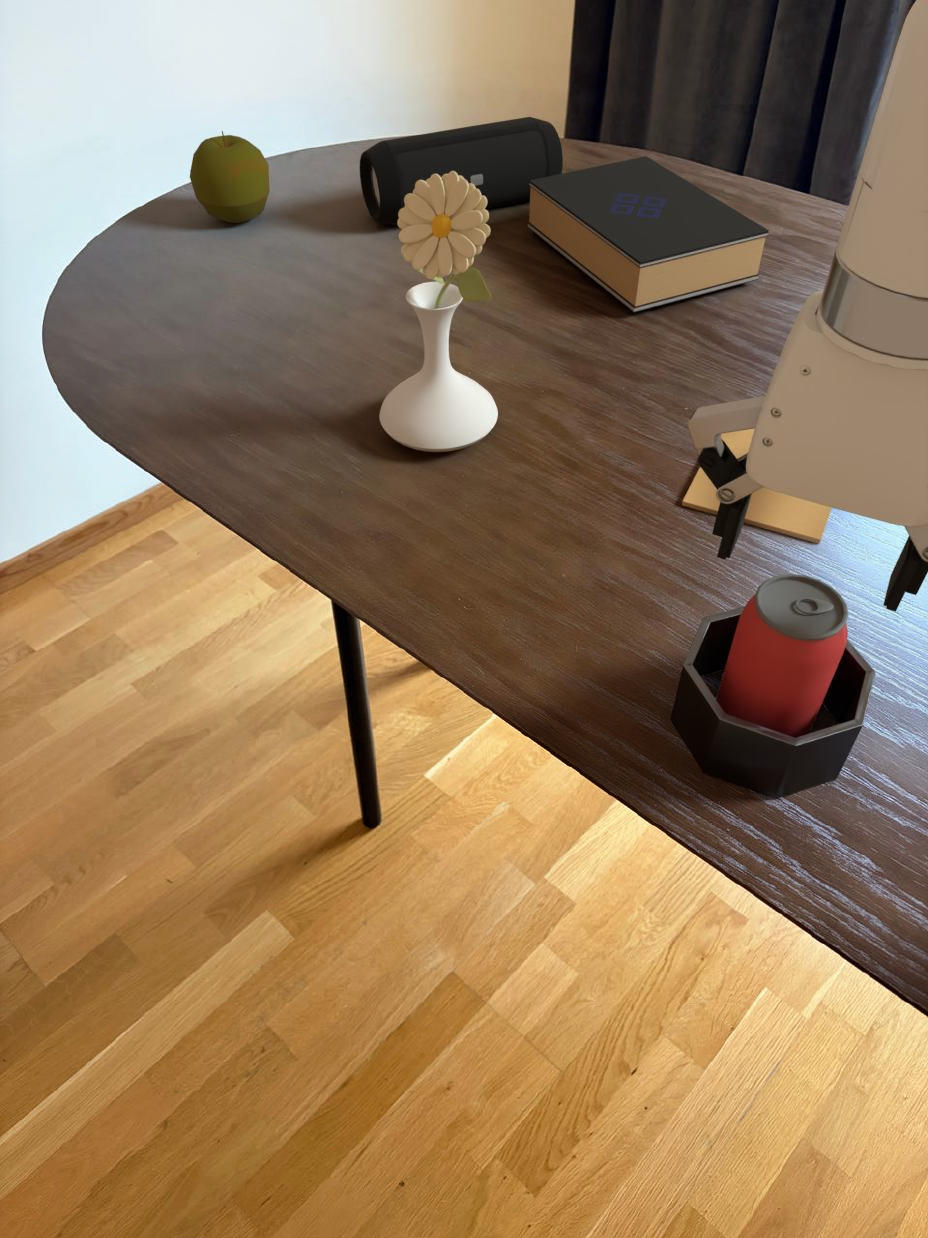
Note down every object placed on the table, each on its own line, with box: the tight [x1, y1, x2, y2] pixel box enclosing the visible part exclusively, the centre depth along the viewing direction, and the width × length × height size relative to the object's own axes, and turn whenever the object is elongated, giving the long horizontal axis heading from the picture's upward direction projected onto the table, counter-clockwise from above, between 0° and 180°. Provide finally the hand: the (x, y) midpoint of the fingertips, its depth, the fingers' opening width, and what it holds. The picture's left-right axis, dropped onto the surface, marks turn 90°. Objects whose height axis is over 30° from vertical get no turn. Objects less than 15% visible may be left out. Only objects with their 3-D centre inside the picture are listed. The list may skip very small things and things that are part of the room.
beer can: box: [715, 573, 849, 738], centre depth 62 cm, size 7×7×12 cm
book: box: [526, 155, 770, 313], centre depth 113 cm, size 17×25×7 cm
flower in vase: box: [378, 171, 499, 453], centre depth 82 cm, size 13×11×25 cm
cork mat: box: [681, 428, 832, 545], centre depth 85 cm, size 12×14×1 cm
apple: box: [189, 130, 271, 224], centre depth 121 cm, size 10×10×11 cm
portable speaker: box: [359, 116, 564, 226], centre depth 123 cm, size 26×10×10 cm, turn 113°
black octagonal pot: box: [669, 605, 876, 800], centre depth 64 cm, size 12×12×6 cm
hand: (808, 569), depth 55 cm, fingers open, 9 cm apart
